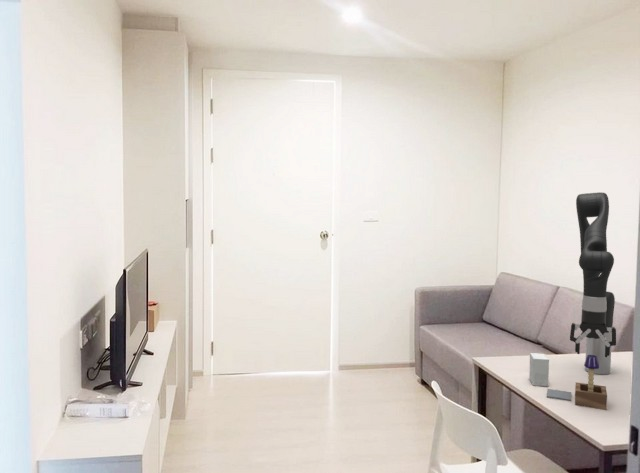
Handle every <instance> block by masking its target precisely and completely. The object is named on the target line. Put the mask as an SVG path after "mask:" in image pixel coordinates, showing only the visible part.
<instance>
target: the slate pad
mask: <svg viewBox="0 0 640 473" xmlns="http://www.w3.org/2000/svg"><path fill="white" fill-rule="evenodd" d="M546 391H547V392H546V398H547V399H554V400H560V401H567V402H572V391H566V390H560V389H559V390H558V389H553V388H547V390H546Z"/></svg>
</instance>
